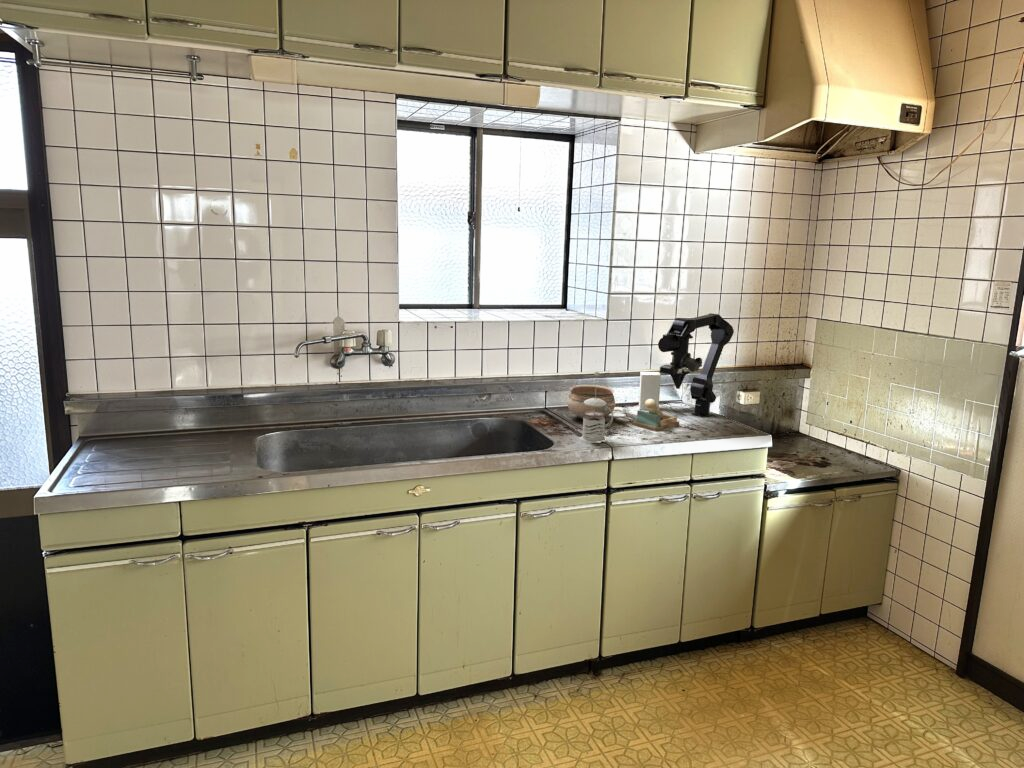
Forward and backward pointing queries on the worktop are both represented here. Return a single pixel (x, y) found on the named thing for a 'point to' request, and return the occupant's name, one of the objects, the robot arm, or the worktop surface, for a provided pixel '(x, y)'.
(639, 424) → the cradle
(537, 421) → the worktop surface
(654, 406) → the peg
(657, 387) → the skincare box
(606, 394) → the cooking pot
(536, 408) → the worktop surface
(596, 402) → the french press
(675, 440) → the worktop surface
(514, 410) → the worktop surface
